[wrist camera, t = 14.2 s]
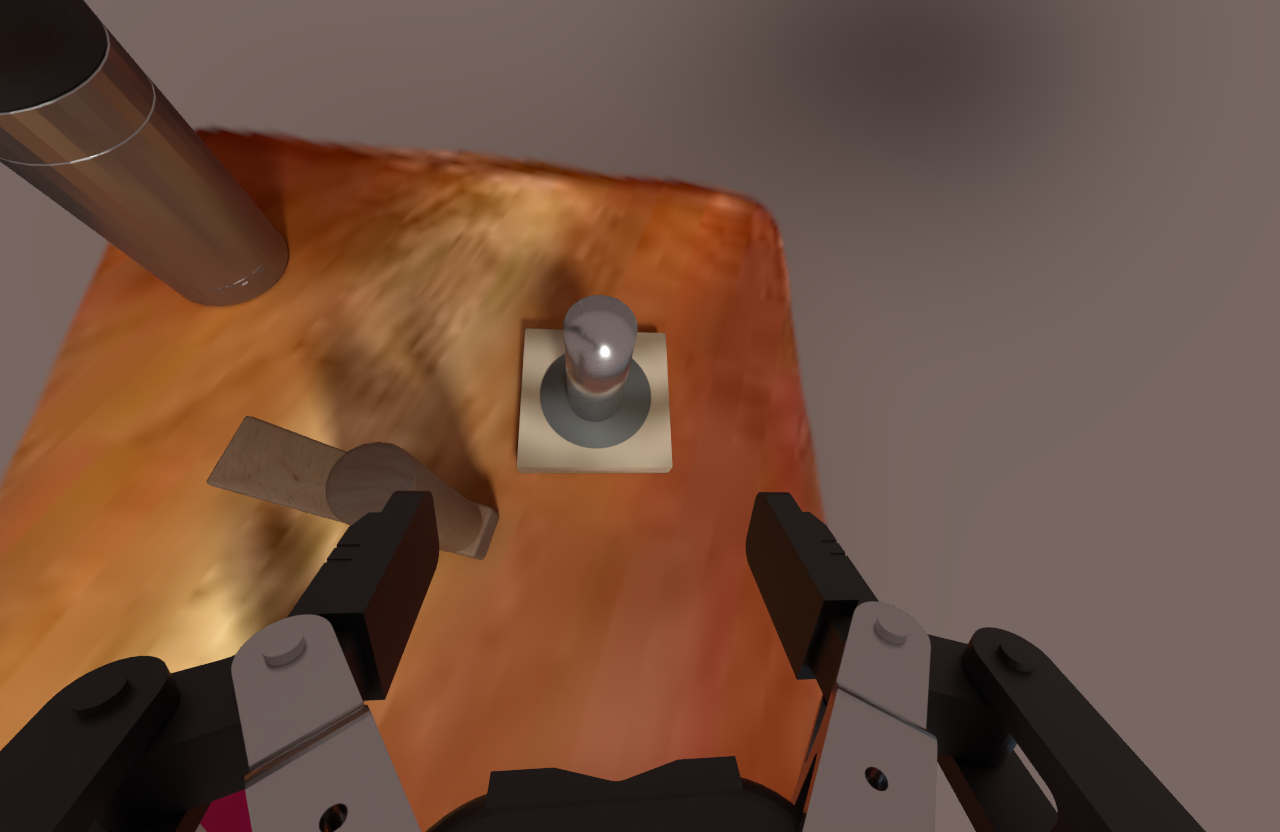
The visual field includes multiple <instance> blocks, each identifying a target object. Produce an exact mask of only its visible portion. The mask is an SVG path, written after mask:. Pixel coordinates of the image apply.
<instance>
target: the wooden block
mask: <svg viewBox="0 0 1280 832" xmlns="http://www.w3.org/2000/svg"><path fill="white" fill-rule="evenodd" d="M207 483H208V484H210V485H211V486H214V487H218V488H222V489H225V490H229V491H232V492H236V493H240V494H243V495H247V496H250V497H254V498H258V499H261V500H265V501H268V502H272V503H276V504H279V505H283V506H286V507H290V508H294V509H297V510H299V511H303V512H306V513H310V514H314V515H317V516H321V517H324V518H328V519H332V520H335V521H339V522H343V523H346V524H348V525H350V526H351V525H352V524H354V523H355V522H356V521H358V520H359V519H360V518H362V517H363V516H365V515H366V514H367V513H369V512H381V511H382V510H383V508H384V507H385V505H386V503H387V502H388V500H389V499H390V497H391V495H392V494H393V493H394V492H395V491H430V492H431V493H432V495H433V500H434V507H435V515H436V522H437V529H438V537H439V550H441V551H445V552H452V553H456V554H460V555H463V556H467V557H471V558H474V559H478V560H483V559H484V558H485V556H486V553H487V550H488V547H489V544H490V542H491V539H492V536H493V533H494V531H495V528H496V525H497V522H498V519H499V514H498V513H497V512H496V511H494V510H493V509H492V508H491V507H490V506H486V505H483V504H479V503H475V502H472V501H469V500H467V499H466V498H465V497H464V496H462V495H461V494H460V493H459V492H457V491H456V490H455V489H454V488H452V487H451V486H450V485H448V484H447V483H446V482H445V481H443V480H442V479H441V478H440V477H438V476H437V475H436V474H434V473H433V472H432V471H431V470H429V469H428V468H427V467H426V466H424V465H423V464H422V463H420V462H419V461H418V460H417V459H415V458H414V457H413V456H412V455H410V454H409V453H408V452H407V451H405V450H404V449H402V448H400V447H398V446H396V445H393V444H390V443H382V442H375V443H369V444H364V445H361V446H359V447H356V448H354V449H352V450H350V451H348V452H345V451H343V450H340V449H337V448H335V447H332V446H329V445H327V444H324V443H321V442H319V441H316V440H313V439H311V438H308V437H305V436H303V435H300V434H297V433H295V432H292V431H289V430H287V429H284V428H281V427H279V426H276V425H273V424H271V423H268V422H265V421H263V420H260V419H257V418H255V417H250V416H246V417H245V418H244V420H243V421H242V423H241V425H240V426H239V428H238V430H237V431H236V433H235V435H234V436H233V438H232V440H231V441H230V443H229V445H228V446H227V448H226V450H225V451H224V453H223V455H222V456H221V458H220V460H219V461H218V463H217V464H216V466H215V468H214V469H213V471H212V473H211V474H210V476H209V478H208V479H207Z"/></svg>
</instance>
